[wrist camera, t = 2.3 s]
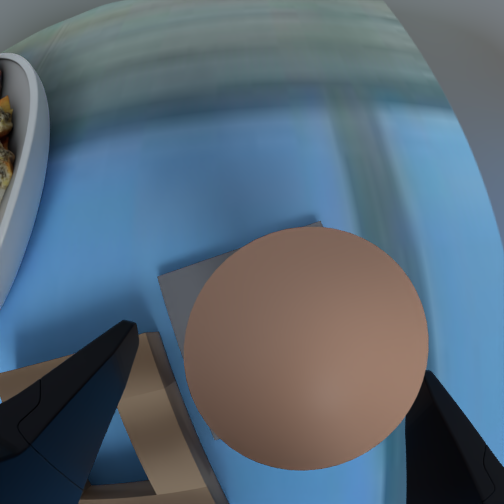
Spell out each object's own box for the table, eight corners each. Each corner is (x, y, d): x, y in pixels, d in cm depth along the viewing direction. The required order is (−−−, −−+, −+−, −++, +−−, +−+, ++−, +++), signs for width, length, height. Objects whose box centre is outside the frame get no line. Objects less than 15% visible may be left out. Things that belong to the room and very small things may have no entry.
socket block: (229, 504, 15) (226, 524, 13) (78, 518, 14) (64, 532, 12) (158, 331, 18) (145, 332, 15) (15, 372, 17) (-7, 374, 15)
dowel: (315, 353, 17) (450, 406, 4) (247, 378, 17) (236, 498, 4) (291, 286, 18) (378, 196, 5) (222, 310, 18) (151, 274, 5)
